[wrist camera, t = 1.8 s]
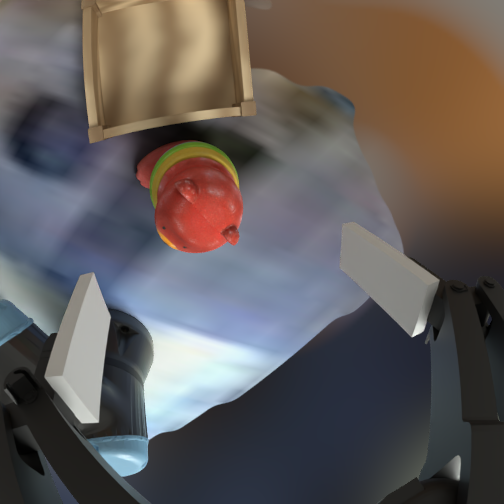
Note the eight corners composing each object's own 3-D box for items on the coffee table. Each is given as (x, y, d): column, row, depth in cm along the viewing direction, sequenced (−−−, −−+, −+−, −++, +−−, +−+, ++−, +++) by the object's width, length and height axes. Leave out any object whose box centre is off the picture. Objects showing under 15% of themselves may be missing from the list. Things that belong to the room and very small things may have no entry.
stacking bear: (129, 169, 33) (100, 211, 18) (195, 119, 33) (220, 116, 17) (180, 231, 38) (195, 310, 23) (241, 185, 38) (298, 236, 23)
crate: (100, 140, 30) (90, 143, 26) (91, 12, 22) (81, -3, 17) (243, 115, 34) (256, 115, 29) (232, -8, 26) (243, -24, 21)
